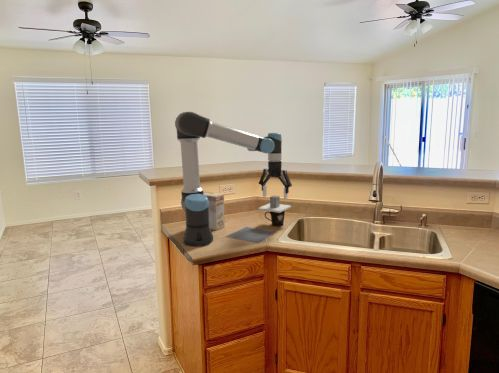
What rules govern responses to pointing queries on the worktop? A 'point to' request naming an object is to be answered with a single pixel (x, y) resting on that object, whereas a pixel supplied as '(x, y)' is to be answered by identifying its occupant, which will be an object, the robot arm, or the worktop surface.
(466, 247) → the worktop surface
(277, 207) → the lid
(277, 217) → the coffee mug
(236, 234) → the mat
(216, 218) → the coffeecake box
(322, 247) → the worktop surface
